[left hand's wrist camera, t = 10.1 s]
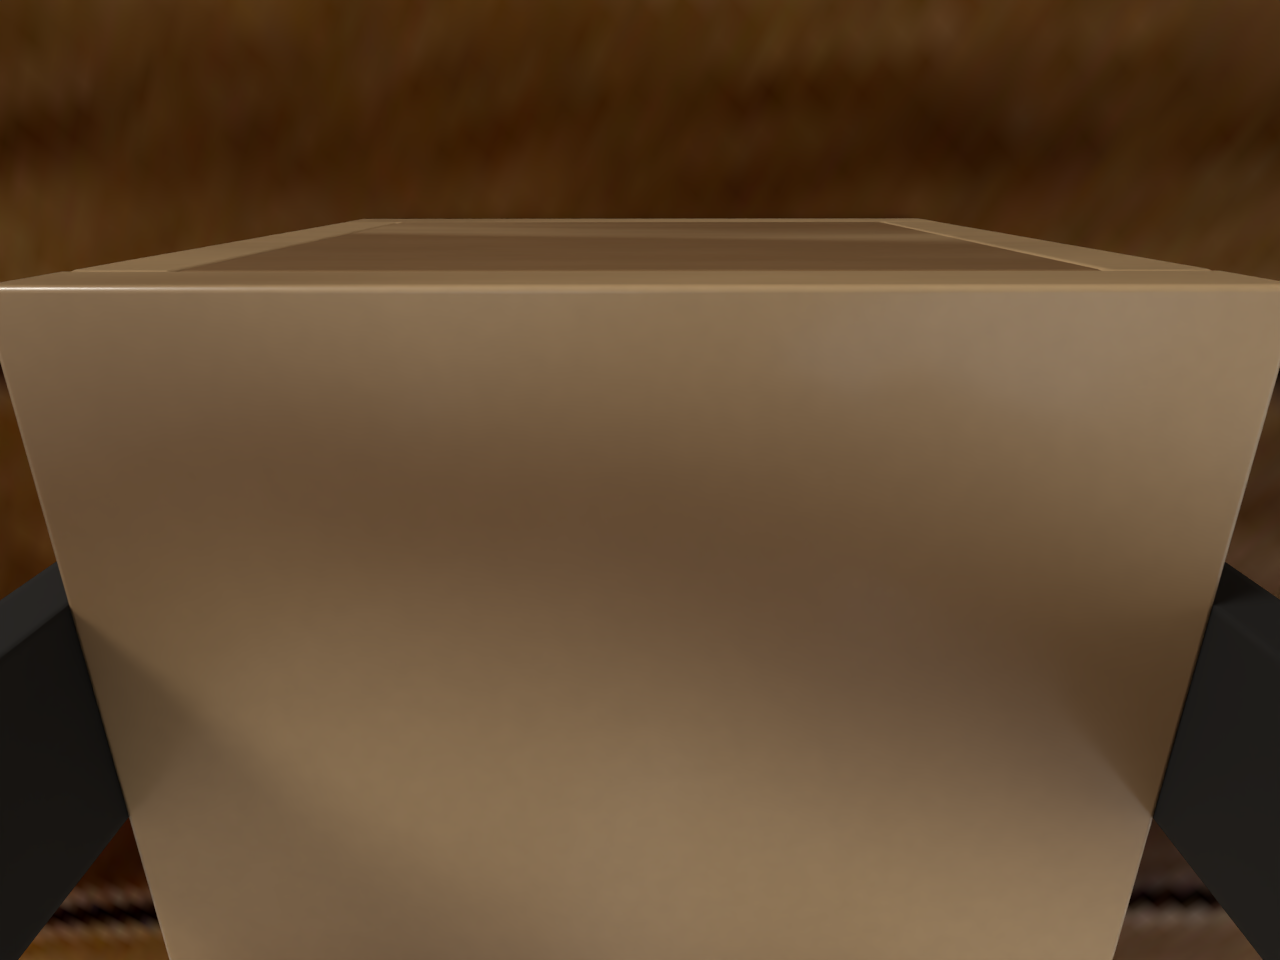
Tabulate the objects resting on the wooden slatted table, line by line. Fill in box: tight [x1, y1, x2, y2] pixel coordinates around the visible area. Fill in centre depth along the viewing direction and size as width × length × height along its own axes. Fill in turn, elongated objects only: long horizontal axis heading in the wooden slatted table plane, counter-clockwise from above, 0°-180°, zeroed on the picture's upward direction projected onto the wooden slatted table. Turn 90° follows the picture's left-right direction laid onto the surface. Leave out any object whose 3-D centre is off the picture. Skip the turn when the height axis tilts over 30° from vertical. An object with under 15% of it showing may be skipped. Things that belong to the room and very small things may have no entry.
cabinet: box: [0, 218, 1280, 960], centre depth 16 cm, size 21×12×10 cm, turn 0°
